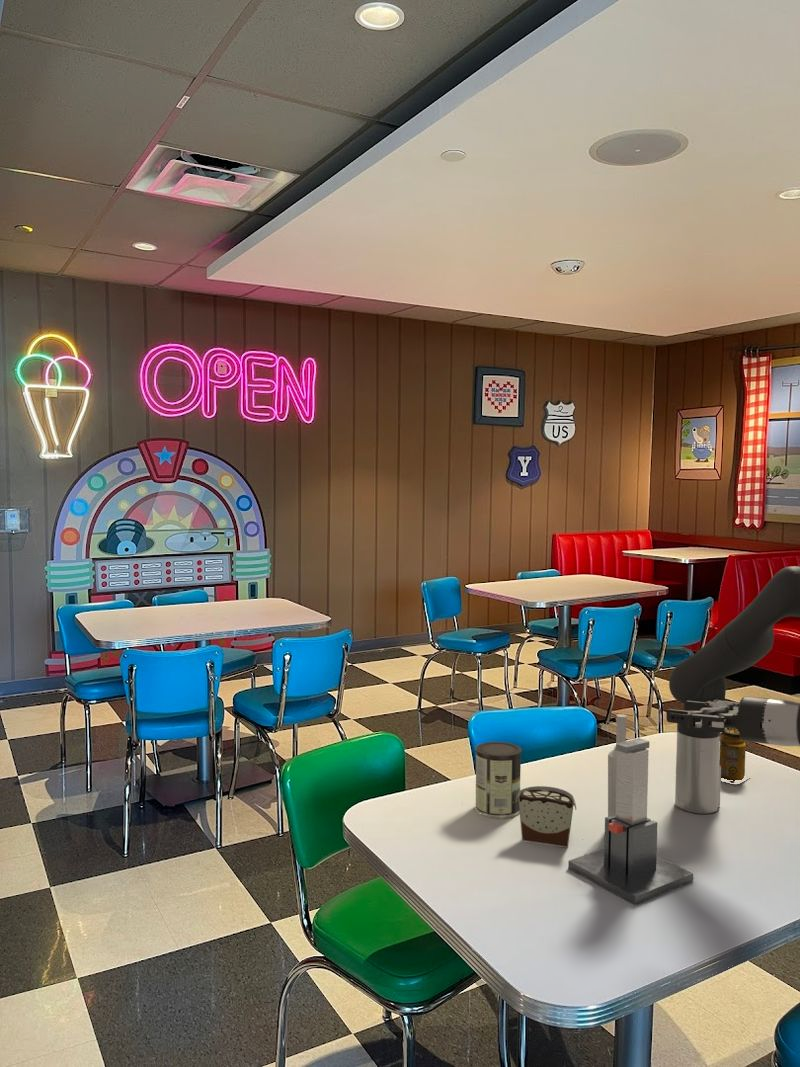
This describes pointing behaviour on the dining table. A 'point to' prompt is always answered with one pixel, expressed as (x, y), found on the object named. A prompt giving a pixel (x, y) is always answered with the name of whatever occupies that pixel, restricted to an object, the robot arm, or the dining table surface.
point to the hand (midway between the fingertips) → (676, 710)
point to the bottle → (615, 763)
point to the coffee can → (497, 779)
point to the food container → (545, 815)
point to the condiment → (732, 755)
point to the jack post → (632, 782)
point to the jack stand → (630, 863)
